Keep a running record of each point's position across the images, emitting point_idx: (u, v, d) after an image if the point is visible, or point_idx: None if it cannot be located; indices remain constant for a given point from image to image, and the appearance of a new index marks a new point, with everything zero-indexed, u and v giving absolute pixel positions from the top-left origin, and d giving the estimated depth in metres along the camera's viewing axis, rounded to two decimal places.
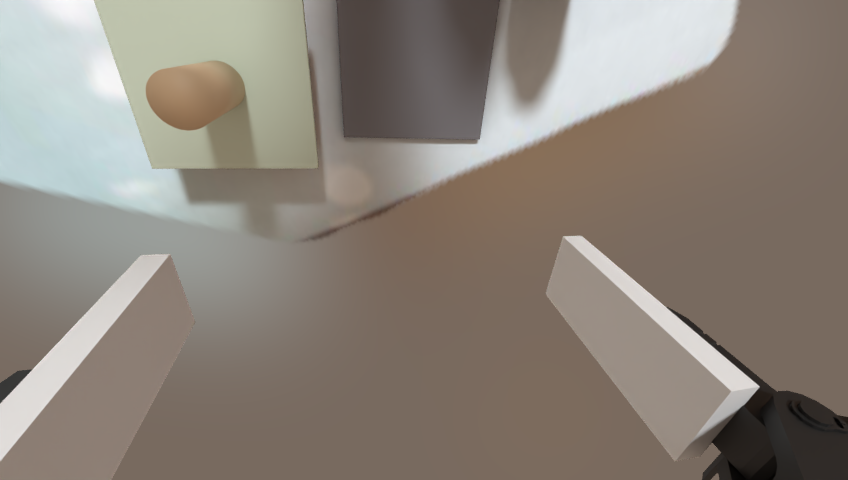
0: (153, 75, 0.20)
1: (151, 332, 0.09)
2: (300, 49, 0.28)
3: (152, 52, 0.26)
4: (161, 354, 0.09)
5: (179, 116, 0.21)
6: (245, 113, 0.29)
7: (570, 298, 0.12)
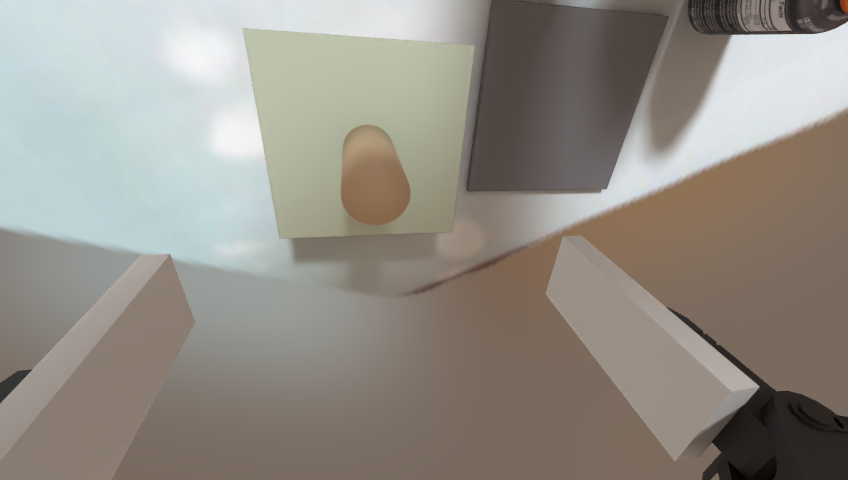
0: (354, 169, 0.17)
1: (151, 332, 0.09)
2: (460, 110, 0.24)
3: (302, 118, 0.23)
4: (161, 355, 0.09)
5: (370, 211, 0.18)
6: None
7: (570, 298, 0.12)
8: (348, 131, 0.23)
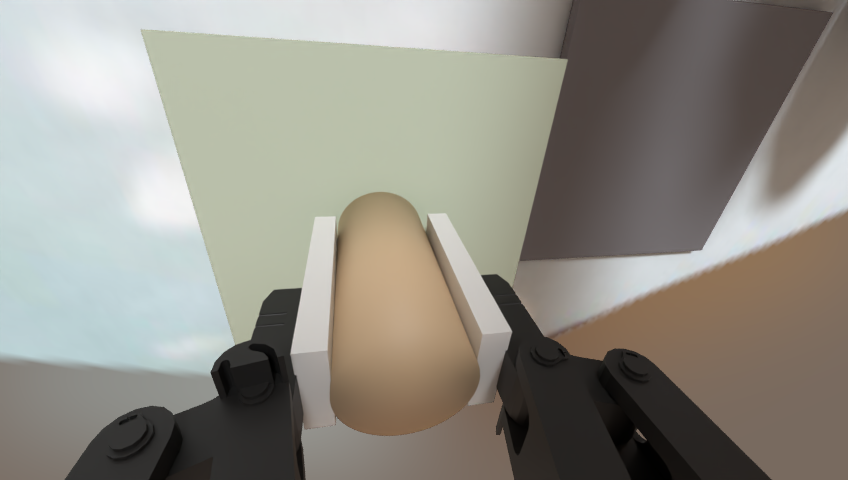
0: (361, 356, 0.07)
1: None
2: (532, 164, 0.15)
3: (267, 186, 0.13)
4: None
5: (393, 415, 0.09)
6: None
7: None
8: (347, 203, 0.14)
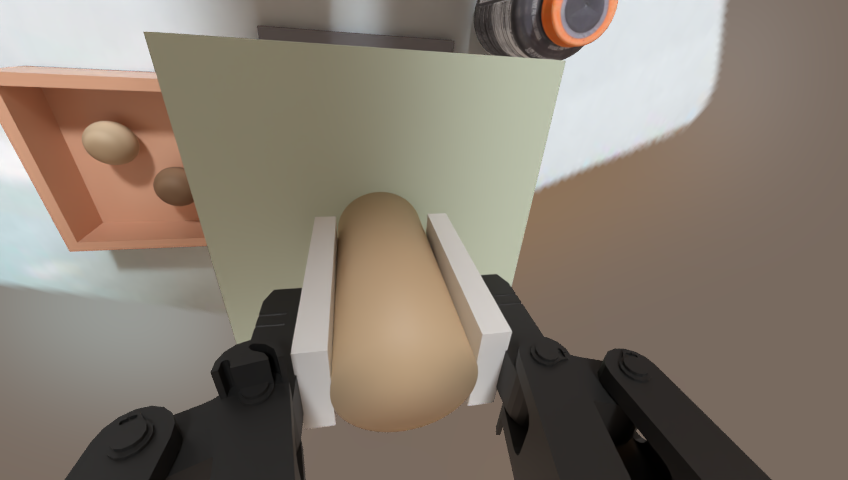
0: (360, 353, 0.07)
1: None
2: (530, 165, 0.15)
3: (268, 186, 0.13)
4: None
5: (393, 412, 0.09)
6: None
7: None
8: (347, 203, 0.14)
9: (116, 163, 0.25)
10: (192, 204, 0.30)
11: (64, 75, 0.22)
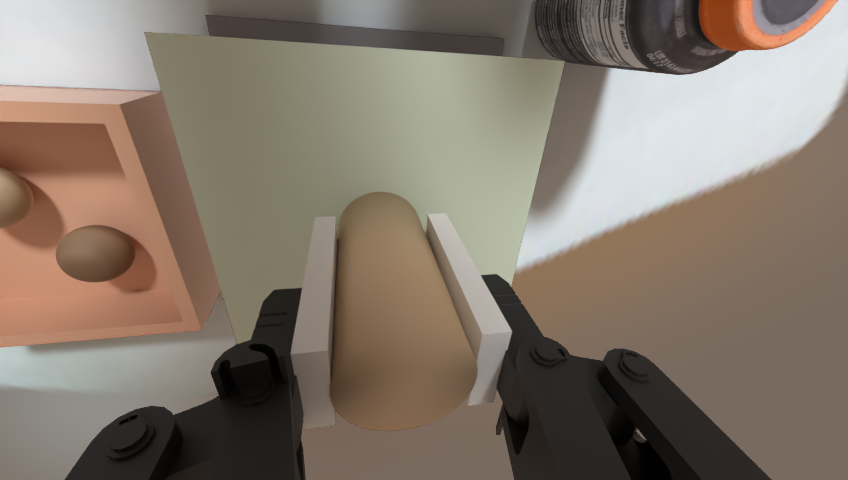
0: (360, 352, 0.07)
1: None
2: (530, 165, 0.15)
3: (268, 186, 0.13)
4: None
5: (392, 411, 0.09)
6: None
7: None
8: (347, 203, 0.14)
9: None
10: (127, 270, 0.22)
11: None
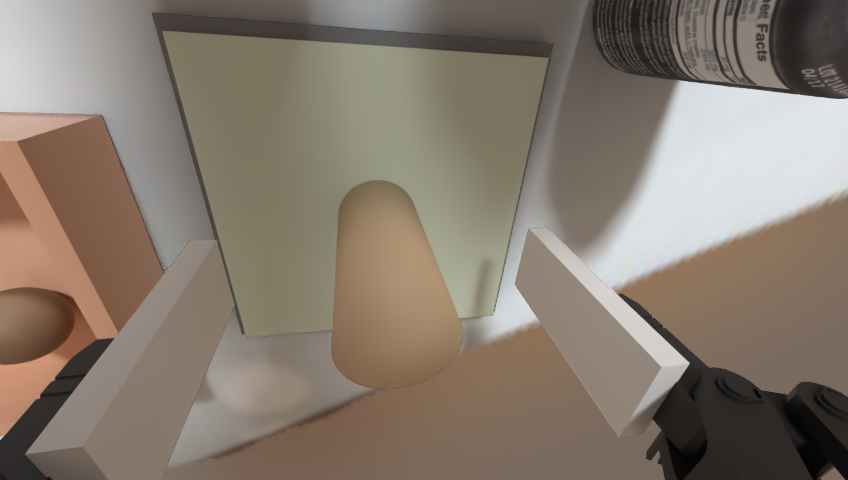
0: (358, 311, 0.08)
1: (204, 310, 0.10)
2: (518, 155, 0.16)
3: (273, 174, 0.14)
4: (211, 331, 0.10)
5: (387, 369, 0.10)
6: None
7: (535, 287, 0.13)
8: (347, 190, 0.15)
9: None
10: (70, 336, 0.17)
11: None
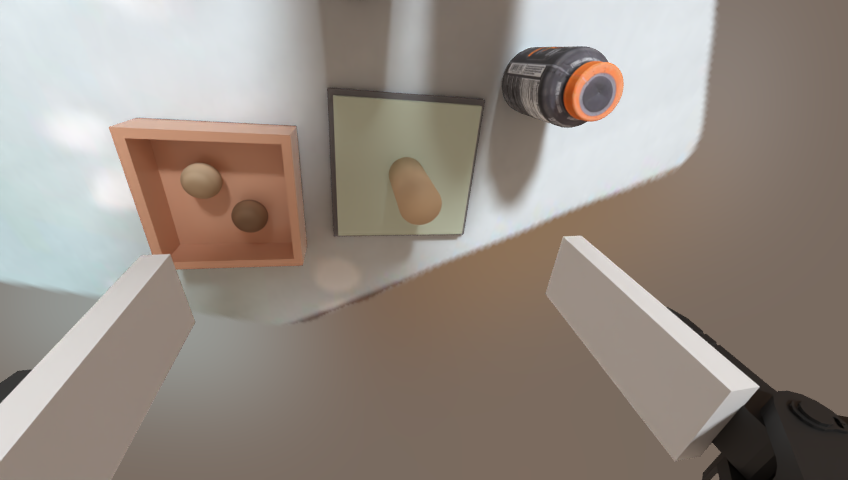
0: (409, 189, 0.27)
1: (151, 332, 0.09)
2: (470, 148, 0.35)
3: (364, 152, 0.33)
4: (161, 355, 0.09)
5: (415, 215, 0.28)
6: None
7: (570, 298, 0.12)
8: (393, 161, 0.34)
9: (205, 197, 0.31)
10: None
11: (179, 130, 0.27)
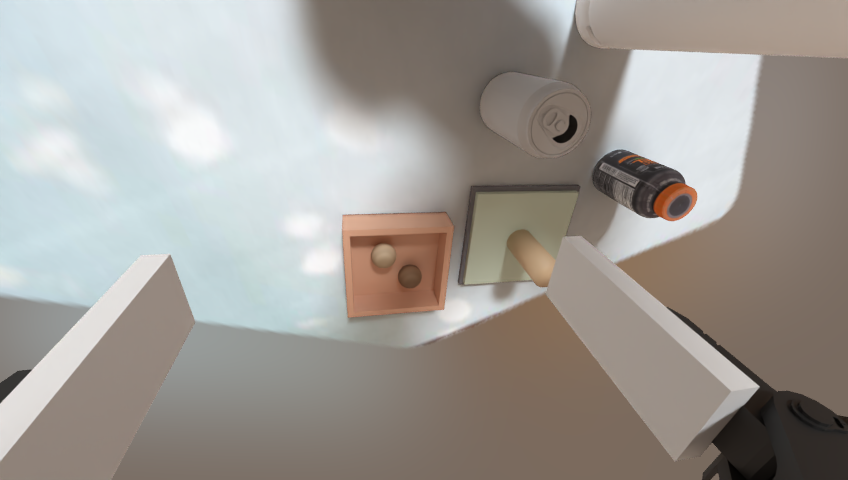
0: (542, 266, 0.39)
1: (151, 332, 0.09)
2: (567, 220, 0.47)
3: (492, 228, 0.45)
4: (161, 355, 0.09)
5: (543, 281, 0.41)
6: None
7: (570, 298, 0.12)
8: (511, 232, 0.46)
9: (386, 267, 0.43)
10: None
11: (384, 229, 0.39)
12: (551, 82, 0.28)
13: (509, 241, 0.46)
